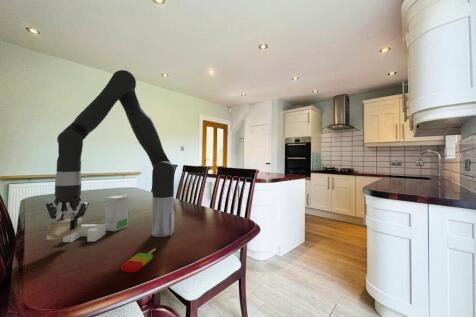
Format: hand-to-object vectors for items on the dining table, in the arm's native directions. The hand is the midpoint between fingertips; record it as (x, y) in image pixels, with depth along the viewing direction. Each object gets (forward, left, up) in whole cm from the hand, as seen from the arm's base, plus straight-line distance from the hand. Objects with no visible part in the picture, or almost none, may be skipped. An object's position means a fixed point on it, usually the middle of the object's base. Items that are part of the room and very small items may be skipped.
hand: (67, 229), depth 75 cm
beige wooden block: (0, +1, -2) cm, 2 cm away
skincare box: (-7, -23, -8) cm, 25 cm away
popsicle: (-31, +10, -8) cm, 33 cm away
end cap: (0, -11, -7) cm, 13 cm away
